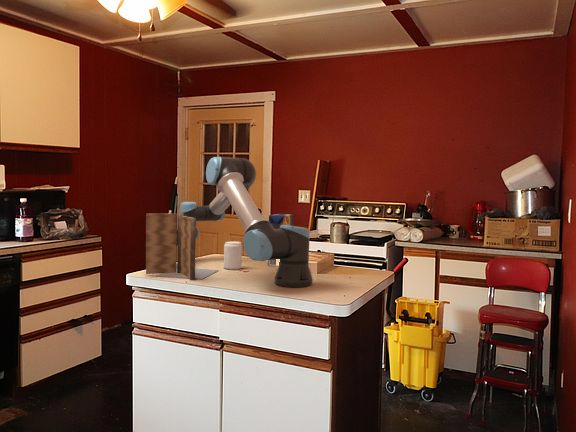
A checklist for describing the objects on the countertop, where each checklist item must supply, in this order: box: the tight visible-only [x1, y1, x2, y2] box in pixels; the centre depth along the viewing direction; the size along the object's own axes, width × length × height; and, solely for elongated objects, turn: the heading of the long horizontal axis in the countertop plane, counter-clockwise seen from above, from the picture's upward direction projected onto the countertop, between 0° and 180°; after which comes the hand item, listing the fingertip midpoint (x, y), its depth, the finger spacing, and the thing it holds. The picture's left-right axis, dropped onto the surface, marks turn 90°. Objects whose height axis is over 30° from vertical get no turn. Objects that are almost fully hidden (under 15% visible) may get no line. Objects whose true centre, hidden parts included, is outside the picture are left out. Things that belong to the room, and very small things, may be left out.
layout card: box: [156, 266, 219, 280], centre depth 223 cm, size 20×20×1 cm
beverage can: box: [223, 241, 243, 271], centre depth 237 cm, size 8×8×12 cm
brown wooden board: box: [145, 213, 178, 275], centre depth 217 cm, size 12×1×25 cm, turn 114°
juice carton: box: [267, 213, 294, 267], centre depth 250 cm, size 12×8×24 cm, turn 158°
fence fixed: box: [176, 212, 197, 281], centre depth 215 cm, size 16×2×26 cm, turn 33°
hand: (156, 243), depth 217 cm, fingers closed
